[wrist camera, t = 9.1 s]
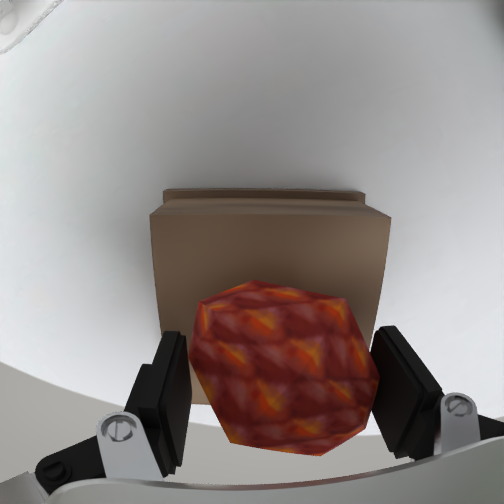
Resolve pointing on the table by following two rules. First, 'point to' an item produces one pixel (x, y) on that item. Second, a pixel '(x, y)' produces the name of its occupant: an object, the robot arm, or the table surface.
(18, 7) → the figurine
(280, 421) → the decorative stone
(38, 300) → the table surface
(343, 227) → the plinth
